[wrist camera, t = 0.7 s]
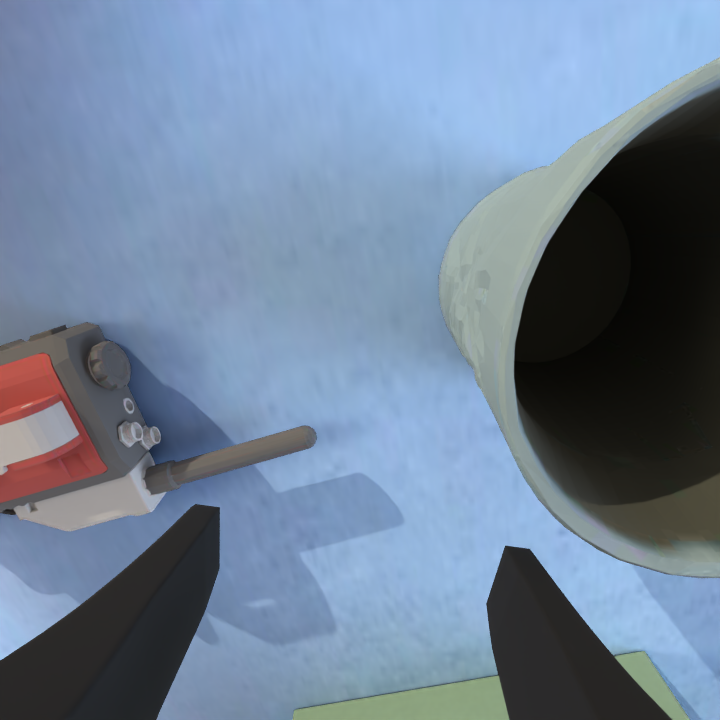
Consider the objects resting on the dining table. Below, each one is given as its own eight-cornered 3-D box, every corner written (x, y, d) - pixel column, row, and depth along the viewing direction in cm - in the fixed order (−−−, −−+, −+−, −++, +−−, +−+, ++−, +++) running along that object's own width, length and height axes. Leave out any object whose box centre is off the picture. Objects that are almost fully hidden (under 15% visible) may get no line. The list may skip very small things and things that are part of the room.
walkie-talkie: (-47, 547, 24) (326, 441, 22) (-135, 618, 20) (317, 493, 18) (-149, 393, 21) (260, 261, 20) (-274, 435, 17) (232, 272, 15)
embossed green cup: (437, 405, 22) (527, 615, 10) (400, 176, 19) (465, 102, 7) (660, 364, 21) (1025, 535, 9) (655, 121, 18) (1167, -54, 7)
